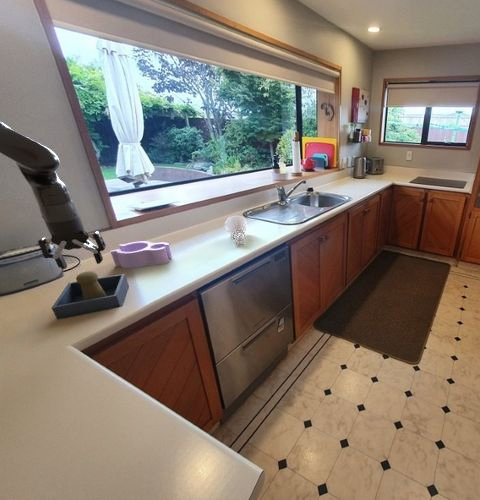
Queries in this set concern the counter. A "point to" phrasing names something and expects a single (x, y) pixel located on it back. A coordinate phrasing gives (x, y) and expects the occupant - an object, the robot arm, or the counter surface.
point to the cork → (90, 285)
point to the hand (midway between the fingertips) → (82, 265)
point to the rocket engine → (236, 228)
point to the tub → (75, 305)
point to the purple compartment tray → (141, 254)
